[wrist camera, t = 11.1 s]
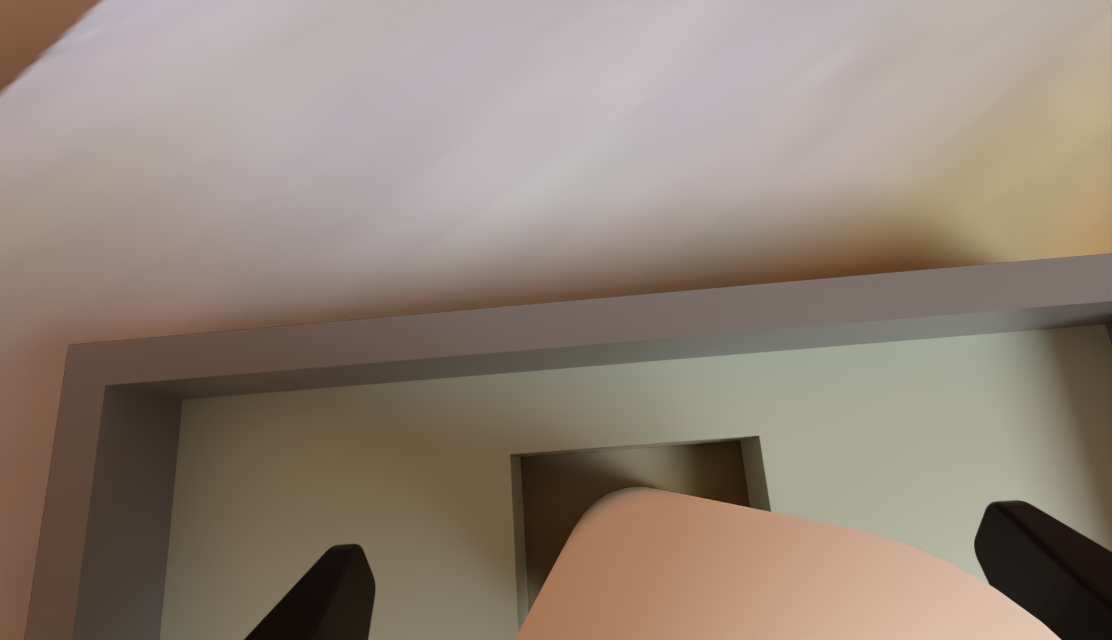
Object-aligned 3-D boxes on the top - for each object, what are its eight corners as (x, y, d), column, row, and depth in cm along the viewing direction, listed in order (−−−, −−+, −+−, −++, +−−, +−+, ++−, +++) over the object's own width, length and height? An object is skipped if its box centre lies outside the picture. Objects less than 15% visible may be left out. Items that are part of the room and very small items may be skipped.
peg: (744, 622, 15) (1490, 1374, 2) (593, 673, 15) (558, 1713, 2) (685, 466, 16) (995, 427, 3) (545, 514, 16) (345, 646, 3)
